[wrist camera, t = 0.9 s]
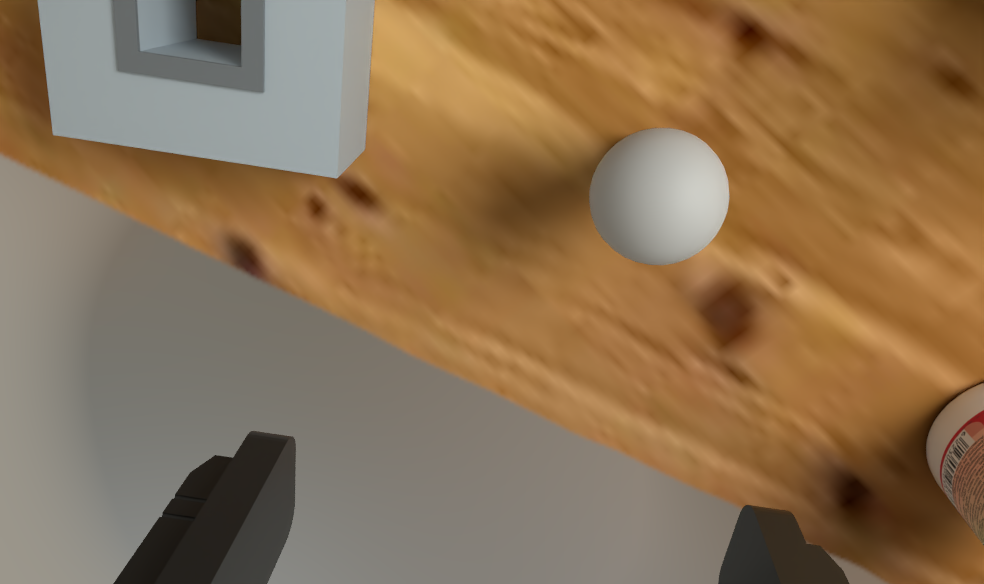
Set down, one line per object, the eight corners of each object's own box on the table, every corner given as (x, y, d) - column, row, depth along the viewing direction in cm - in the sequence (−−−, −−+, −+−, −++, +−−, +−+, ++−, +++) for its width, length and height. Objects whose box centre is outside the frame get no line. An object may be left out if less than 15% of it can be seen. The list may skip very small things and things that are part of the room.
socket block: (96, -180, 35) (10, -207, 30) (383, -137, 35) (352, -155, 30) (118, 111, 41) (50, 135, 35) (365, 149, 41) (336, 179, 35)
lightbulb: (597, 220, 42) (613, 302, 32) (569, 117, 40) (576, 169, 30) (704, 191, 41) (756, 265, 31) (682, 83, 38) (729, 125, 28)
